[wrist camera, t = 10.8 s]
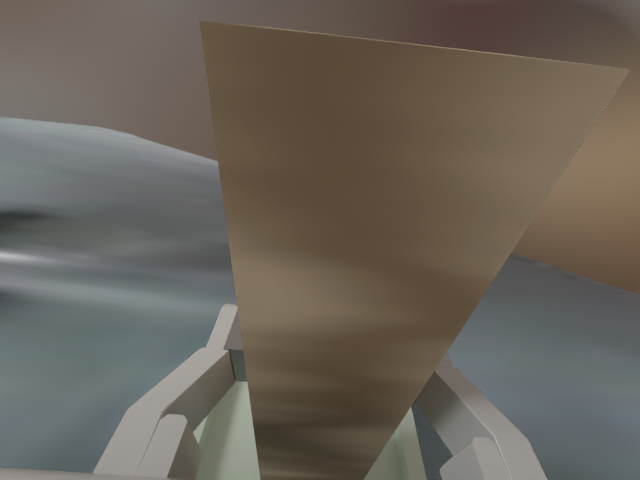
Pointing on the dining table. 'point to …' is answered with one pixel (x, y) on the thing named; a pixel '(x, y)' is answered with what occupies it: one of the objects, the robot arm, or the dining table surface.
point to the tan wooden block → (373, 216)
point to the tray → (241, 455)
